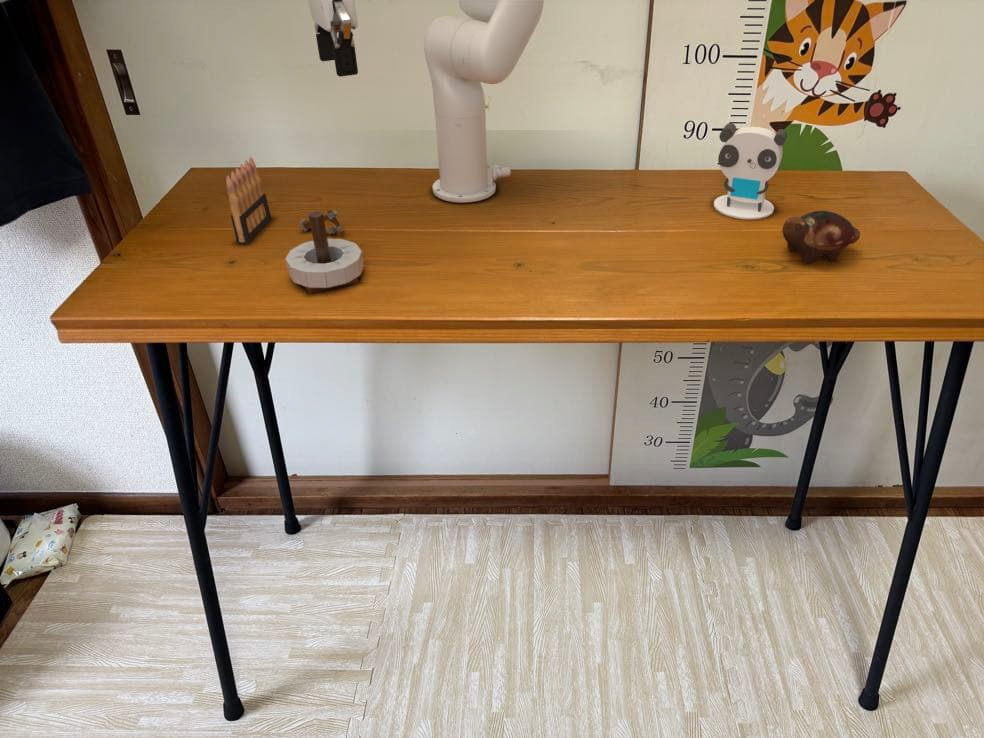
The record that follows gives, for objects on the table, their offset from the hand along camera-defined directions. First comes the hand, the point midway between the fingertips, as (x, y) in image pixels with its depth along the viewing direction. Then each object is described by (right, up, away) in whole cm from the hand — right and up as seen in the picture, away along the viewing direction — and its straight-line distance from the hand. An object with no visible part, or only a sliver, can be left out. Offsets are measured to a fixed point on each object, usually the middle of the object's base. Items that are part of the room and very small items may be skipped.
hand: (338, 67), depth 120 cm
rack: (-3, -32, +5) cm, 33 cm away
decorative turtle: (+79, -27, +12) cm, 85 cm away
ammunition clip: (-20, -22, +18) cm, 35 cm away
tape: (-3, -31, +5) cm, 32 cm away
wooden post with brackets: (-7, -22, +18) cm, 29 cm away
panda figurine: (+71, -15, +28) cm, 78 cm away
